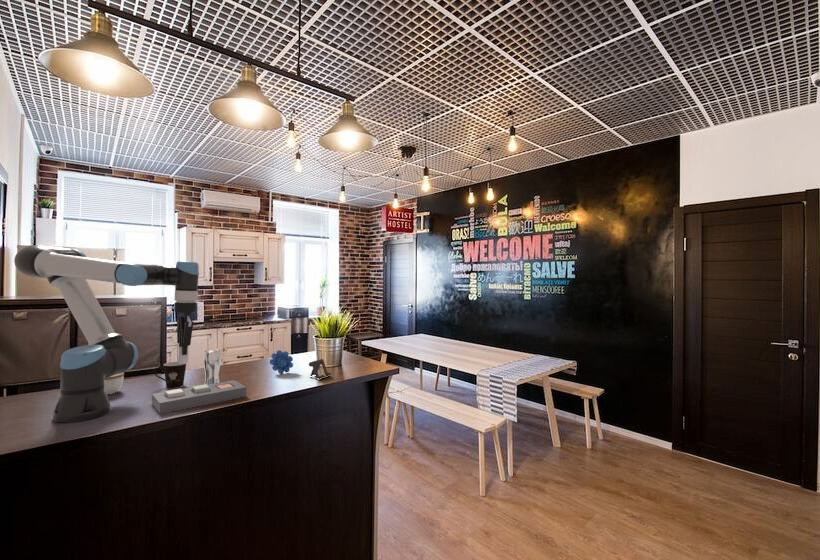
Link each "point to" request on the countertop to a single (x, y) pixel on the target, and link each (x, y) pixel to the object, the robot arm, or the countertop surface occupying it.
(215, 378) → the beer glass
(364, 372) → the countertop surface
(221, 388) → the terracotta key
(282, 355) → the blue gear
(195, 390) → the sage key
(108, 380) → the lidded jar
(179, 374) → the coffee mug
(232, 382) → the keypad
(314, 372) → the portable electronic device stand
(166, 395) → the cream key
